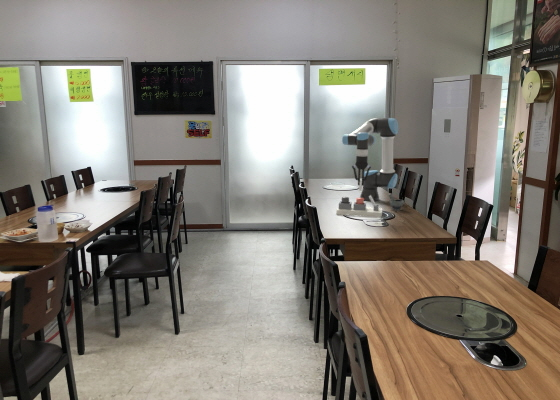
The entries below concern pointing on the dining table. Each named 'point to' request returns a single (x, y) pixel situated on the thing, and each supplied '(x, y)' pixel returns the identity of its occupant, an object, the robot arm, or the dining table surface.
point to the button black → (345, 200)
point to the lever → (372, 200)
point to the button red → (359, 200)
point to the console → (358, 210)
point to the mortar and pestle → (395, 203)
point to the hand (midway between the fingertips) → (360, 190)
